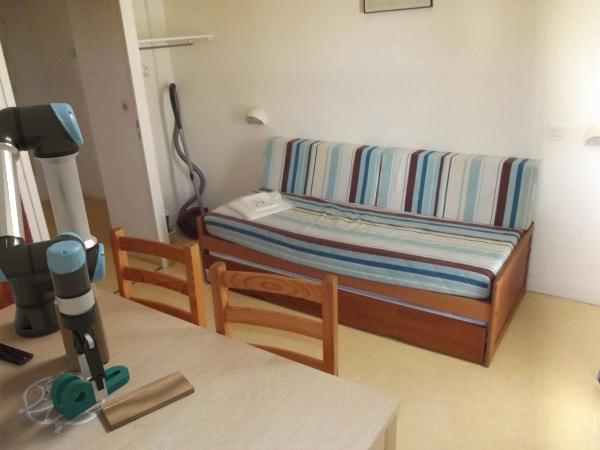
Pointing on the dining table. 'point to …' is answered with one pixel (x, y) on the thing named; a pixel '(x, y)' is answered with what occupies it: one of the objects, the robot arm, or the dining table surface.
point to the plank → (146, 399)
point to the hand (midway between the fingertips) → (95, 387)
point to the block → (98, 334)
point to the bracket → (83, 391)
